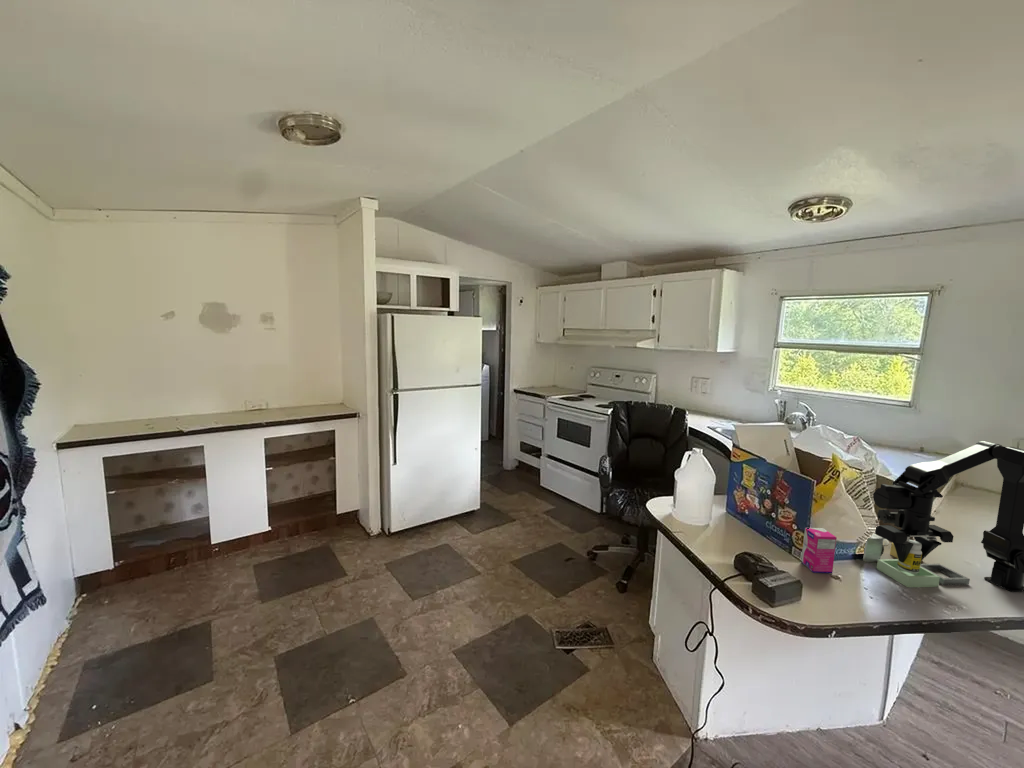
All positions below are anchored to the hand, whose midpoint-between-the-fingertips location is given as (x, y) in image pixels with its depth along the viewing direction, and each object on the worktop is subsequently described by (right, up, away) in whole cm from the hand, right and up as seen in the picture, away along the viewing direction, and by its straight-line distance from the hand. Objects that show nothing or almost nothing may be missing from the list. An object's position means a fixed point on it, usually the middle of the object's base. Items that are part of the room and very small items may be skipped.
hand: (909, 561), depth 124 cm
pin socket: (+11, -5, +2) cm, 12 cm away
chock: (+11, -4, +13) cm, 17 cm away
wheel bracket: (-2, -4, +11) cm, 12 cm away
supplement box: (-24, -4, +4) cm, 25 cm away
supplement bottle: (0, -3, 0) cm, 3 cm away
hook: (+10, -3, +24) cm, 26 cm away
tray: (0, -5, +1) cm, 5 cm away
